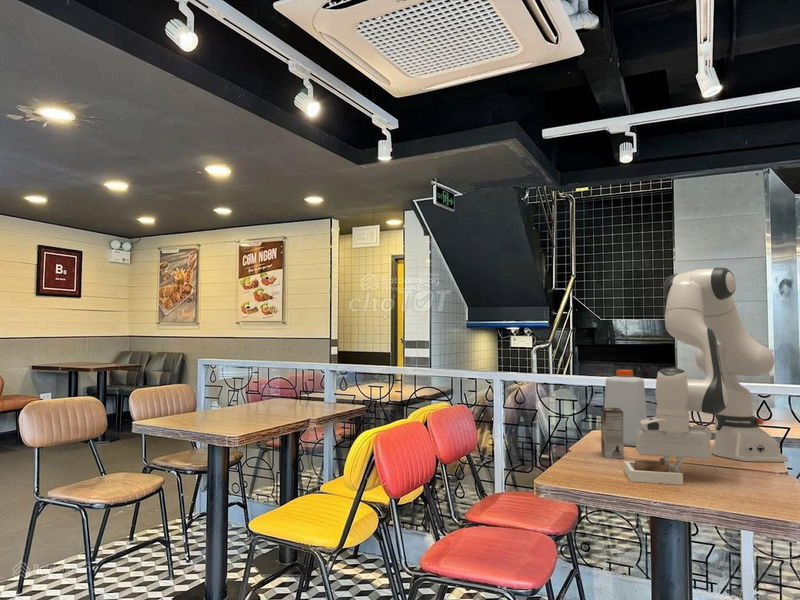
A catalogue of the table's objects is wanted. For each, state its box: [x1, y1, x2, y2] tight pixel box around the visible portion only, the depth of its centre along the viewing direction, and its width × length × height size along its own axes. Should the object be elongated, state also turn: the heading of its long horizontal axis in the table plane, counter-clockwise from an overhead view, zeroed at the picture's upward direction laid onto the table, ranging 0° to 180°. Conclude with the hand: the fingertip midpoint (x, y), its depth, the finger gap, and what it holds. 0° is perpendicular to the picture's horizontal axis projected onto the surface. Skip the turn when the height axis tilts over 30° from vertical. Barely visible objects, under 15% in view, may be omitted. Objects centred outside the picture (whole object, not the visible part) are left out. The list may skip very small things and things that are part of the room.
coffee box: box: [600, 407, 625, 460], centre depth 197 cm, size 9×6×16 cm
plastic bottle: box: [603, 369, 648, 447], centre depth 221 cm, size 15×15×28 cm
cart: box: [634, 457, 668, 472], centre depth 168 cm, size 8×7×5 cm
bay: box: [623, 460, 684, 486], centre depth 168 cm, size 14×13×3 cm
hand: (673, 471), depth 167 cm, fingers closed
